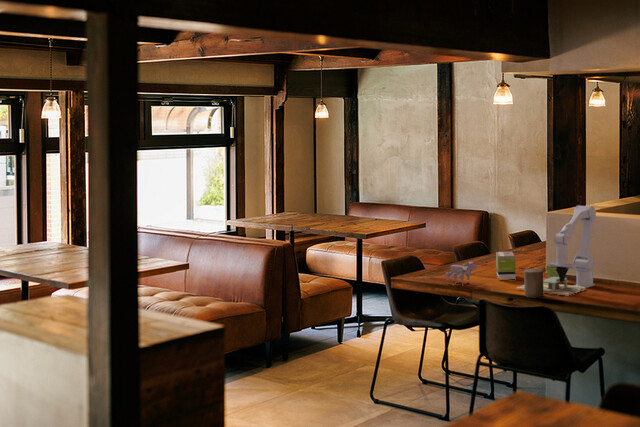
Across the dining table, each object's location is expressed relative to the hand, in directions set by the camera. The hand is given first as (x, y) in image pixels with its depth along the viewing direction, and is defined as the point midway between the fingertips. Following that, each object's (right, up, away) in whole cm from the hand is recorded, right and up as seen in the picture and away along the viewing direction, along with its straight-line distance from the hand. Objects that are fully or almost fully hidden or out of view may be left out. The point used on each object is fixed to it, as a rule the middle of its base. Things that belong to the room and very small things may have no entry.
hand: (562, 281), depth 423 cm
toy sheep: (-47, -5, +31) cm, 56 cm away
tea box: (-19, -2, +45) cm, 49 cm away
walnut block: (-3, -6, +4) cm, 8 cm away
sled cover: (-3, -4, +4) cm, 7 cm away
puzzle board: (-4, -5, +8) cm, 10 cm away
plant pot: (+4, -3, +29) cm, 29 cm away
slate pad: (+3, -5, -1) cm, 6 cm away
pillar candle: (-16, -8, -5) cm, 19 cm away
